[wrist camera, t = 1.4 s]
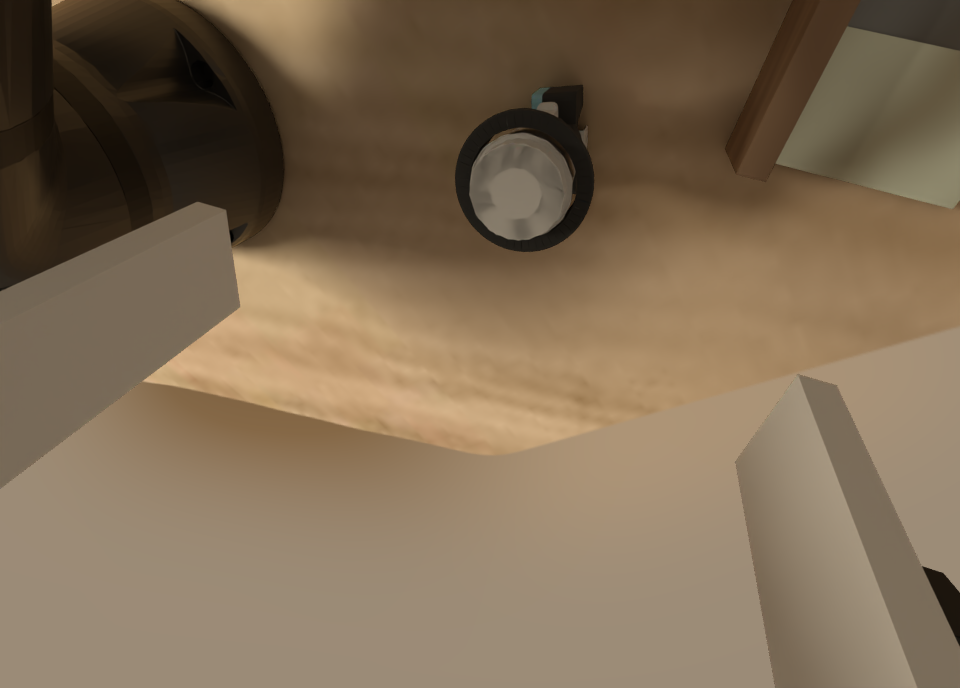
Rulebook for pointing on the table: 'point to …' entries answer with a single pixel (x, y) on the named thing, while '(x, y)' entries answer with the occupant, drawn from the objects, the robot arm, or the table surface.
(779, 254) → the table surface
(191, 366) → the table surface
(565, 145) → the push button
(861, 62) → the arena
